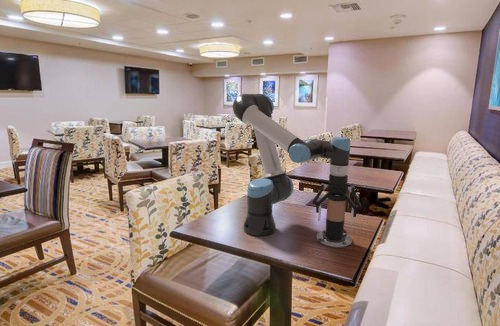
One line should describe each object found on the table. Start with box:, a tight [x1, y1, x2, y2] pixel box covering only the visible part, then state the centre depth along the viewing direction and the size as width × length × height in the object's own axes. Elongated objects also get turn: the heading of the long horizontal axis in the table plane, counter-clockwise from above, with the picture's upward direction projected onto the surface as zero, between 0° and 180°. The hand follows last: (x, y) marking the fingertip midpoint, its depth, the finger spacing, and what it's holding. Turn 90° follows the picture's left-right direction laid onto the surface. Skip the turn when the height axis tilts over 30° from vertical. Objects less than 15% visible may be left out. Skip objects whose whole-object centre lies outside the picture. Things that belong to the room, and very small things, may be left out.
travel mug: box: [325, 194, 347, 240], centre depth 137 cm, size 8×8×20 cm
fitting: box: [316, 229, 353, 249], centre depth 142 cm, size 15×22×6 cm
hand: (335, 221), depth 137 cm, fingers open, 13 cm apart
